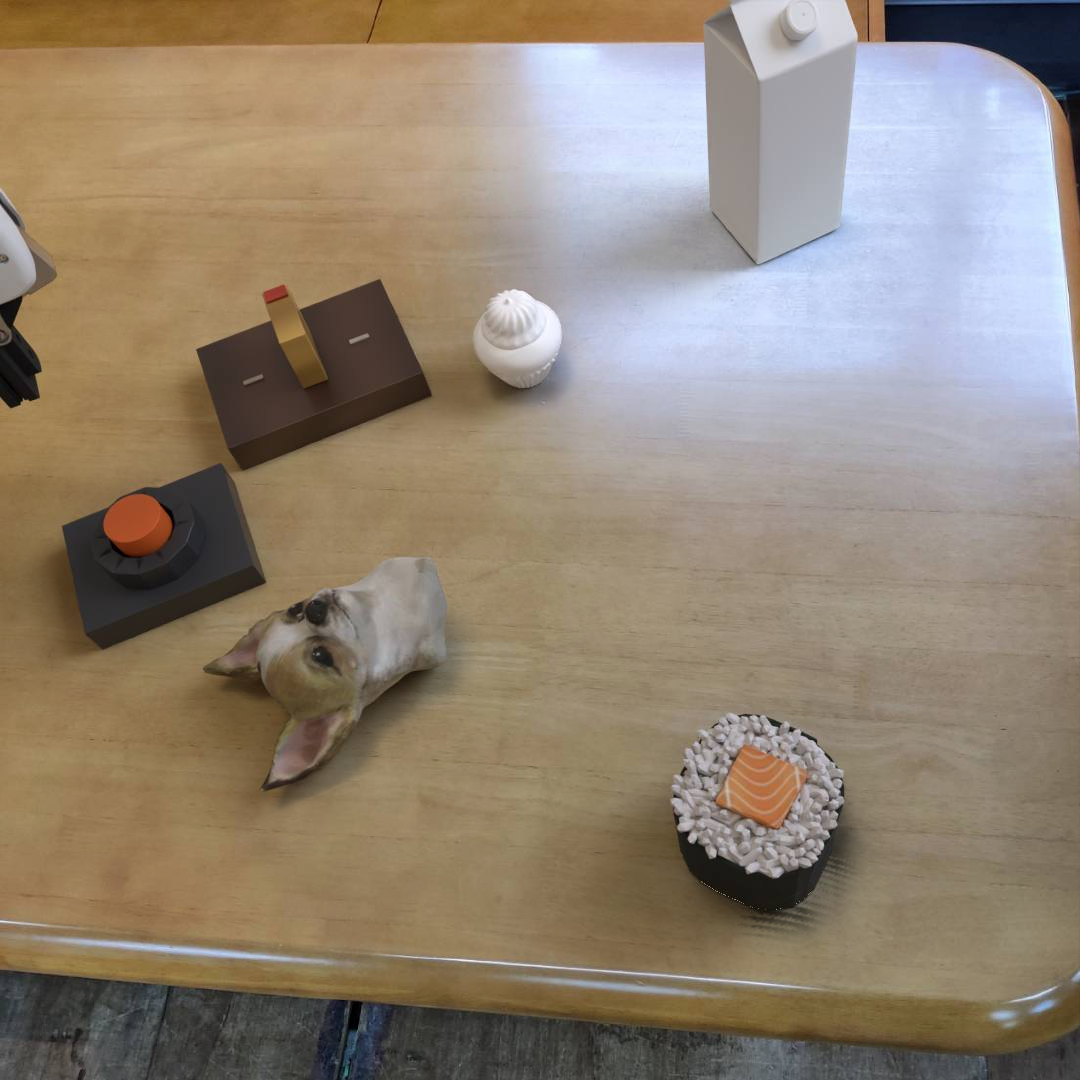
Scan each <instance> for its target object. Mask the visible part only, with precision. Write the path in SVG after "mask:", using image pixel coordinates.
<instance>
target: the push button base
mask: <svg viewBox="0 0 1080 1080" xmlns="http://www.w3.org/2000/svg"><path fill="white" fill-rule="evenodd" d="M135 494H144V495H148V496H151V497H153V498H154V499H155V500H156V501H157V502H158V503H159V504H160V506H161V507H162V508H163V509H164V511H165V512H166V513H167V514H168V515H169V517H170V518H171V520H172V524H173V529H172V534H171V536H170V538H169V540H168V541H167V542H166V543H165V544H164V545H163V546H162V547H161V548H160V549H159V550H158V551H156V552H154V553H152V554H149V555H147V556H144V557H132V556H128V555H126V554H124V553H123V552H122V551H121V550H120V549H119V548H118V547H117V546H116V545H115V544H114V543H113V542H112V541H111V540H110V538H109V537H108V536H107V535H106V533H105V531H104V526H103V523H104V518H105V516H106V514H107V512H108V510H109V509H110V508H111V507H112V506H113V505H114V504H115V503H116V502H118V501H119V500H121V499H123V498H125V497H127V496H130V495H135ZM61 529H62V534H63V538H64V544H65V547H66V553H67V558H68V562H69V566H70V572H71V577H72V581H73V585H74V590H75V595H76V599H77V605H78V608H79V613H80V619H81V623H82V628H83V633H84V635H85V636H86V637H88V638H89V639H90V640H91V641H92V642H93V643H95V645H97V646H98V647H99V648H100V649H101V650H102V651H103V650H107V648H110V647H111V648H112V647H113V646H116V645H118V644H120V643H124V642H125V641H128V640H130V639H132V638H135V637H137V636H140V635H142V634H144V633H147V632H149V631H152V630H155V629H156V628H159V627H162V626H164V625H166V624H169V623H171V622H173V621H176V620H179V619H181V618H183V617H186V616H188V615H191V614H193V613H196V612H198V611H201V610H203V609H205V608H208V607H210V606H212V605H214V604H215V605H216V604H218V603H220V602H223V601H225V600H227V599H229V598H233V597H235V596H237V595H239V594H242V593H244V592H247V591H250V590H251V589H254V588H256V587H259V586H262V585H265V584H267V579H266V576H265V573H264V570H263V566H262V564H261V561H260V558H259V554H258V552H257V551H258V550H257V548H256V545H255V542H254V539H253V536H252V532H251V529H250V527H249V524H248V520H247V517H246V514H245V510H244V508H243V505H242V502H241V498H240V495H239V493H238V489H237V486H236V482H235V480H234V479H233V478H232V476H231V475H230V474H229V472H228V470H227V469H226V467H225V466H224V465H223V463H222V462H220V463H217V464H214V465H211V466H208V467H207V468H204V469H201V470H199V471H196V472H195V473H191V474H188V475H187V476H184V477H181V478H179V479H176V480H174V481H171V482H169V483H166V484H164V485H162V486H159V487H156V486H144V487H141V488H139V489H136V490H134V491H131V492H129V493H127V494H124V495H121V496H119V497H118V498H117V499H115V501H113V503H112V504H110V505H109V506H108V507H106V508H103V509H101V510H98V511H96V512H93V513H90V514H88V515H85V516H83V517H79V518H77V519H75V520H73V521H70V522H68V523H65V524H62V525H61Z"/></svg>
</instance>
